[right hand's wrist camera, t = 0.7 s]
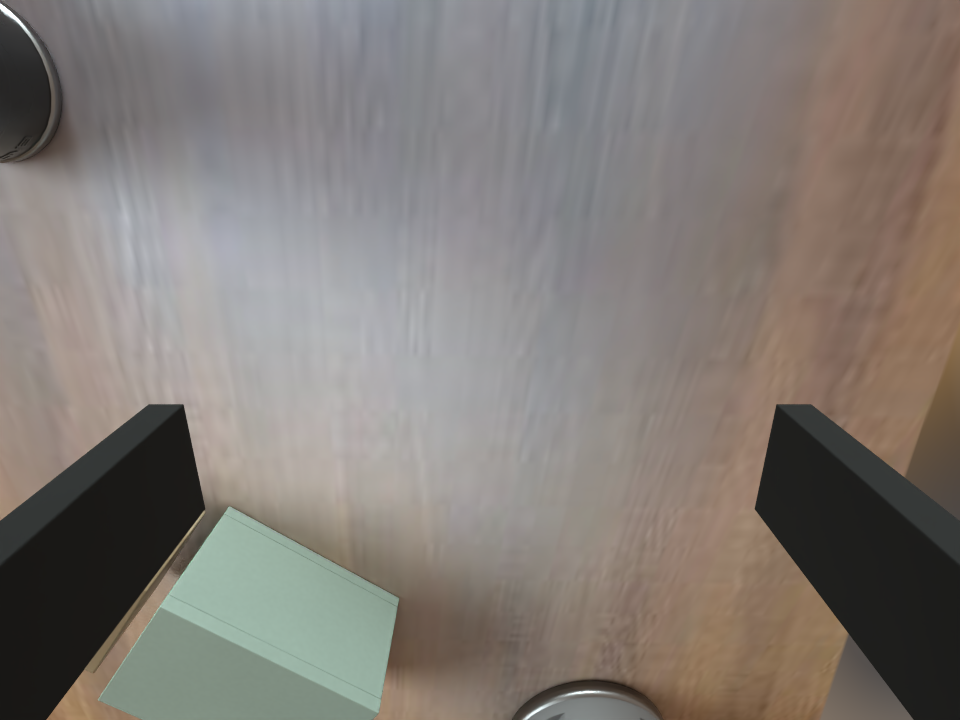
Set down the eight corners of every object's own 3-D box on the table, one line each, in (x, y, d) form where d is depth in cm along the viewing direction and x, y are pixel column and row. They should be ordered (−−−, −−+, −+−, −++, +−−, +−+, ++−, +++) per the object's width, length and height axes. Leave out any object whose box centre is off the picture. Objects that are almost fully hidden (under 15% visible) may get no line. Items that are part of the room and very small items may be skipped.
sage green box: (175, 586, 48) (97, 700, 38) (229, 505, 45) (159, 606, 35) (339, 668, 51) (306, 791, 41) (399, 597, 48) (379, 713, 38)
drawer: (81, 546, 45) (-3, 631, 37) (126, 467, 42) (45, 542, 35) (303, 656, 49) (269, 753, 41) (356, 591, 47) (331, 682, 39)
